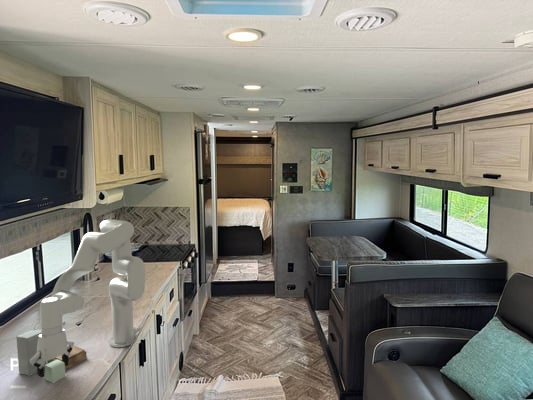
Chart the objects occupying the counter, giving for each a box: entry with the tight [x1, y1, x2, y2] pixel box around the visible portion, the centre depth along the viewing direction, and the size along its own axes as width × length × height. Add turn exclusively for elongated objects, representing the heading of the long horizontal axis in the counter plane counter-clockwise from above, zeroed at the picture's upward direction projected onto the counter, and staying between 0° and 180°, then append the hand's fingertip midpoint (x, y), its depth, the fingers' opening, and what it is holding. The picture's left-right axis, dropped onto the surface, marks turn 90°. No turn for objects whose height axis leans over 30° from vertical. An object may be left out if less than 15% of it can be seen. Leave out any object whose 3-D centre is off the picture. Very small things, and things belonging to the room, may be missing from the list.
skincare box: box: [15, 328, 47, 377], centre depth 153 cm, size 8×7×16 cm
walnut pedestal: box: [47, 344, 88, 370], centre depth 160 cm, size 11×11×4 cm
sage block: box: [44, 359, 66, 384], centre depth 148 cm, size 5×5×6 cm
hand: (53, 370), depth 147 cm, fingers open, 9 cm apart
